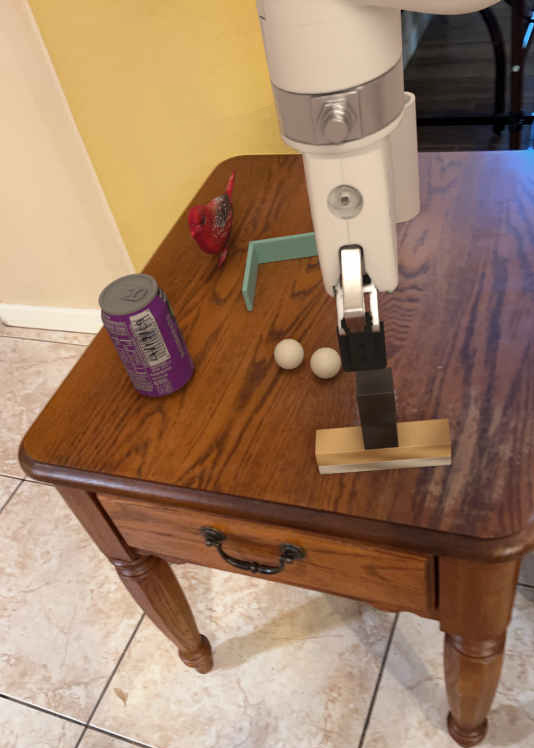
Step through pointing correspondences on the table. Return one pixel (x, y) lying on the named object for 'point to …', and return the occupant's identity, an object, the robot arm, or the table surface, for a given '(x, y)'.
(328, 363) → the crumb
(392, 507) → the table surface
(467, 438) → the table surface
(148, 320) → the beverage can
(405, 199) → the vase
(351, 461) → the brush
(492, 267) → the table surface
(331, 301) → the table surface
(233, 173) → the decorative bird figurine
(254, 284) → the teal open frame
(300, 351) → the crumb
